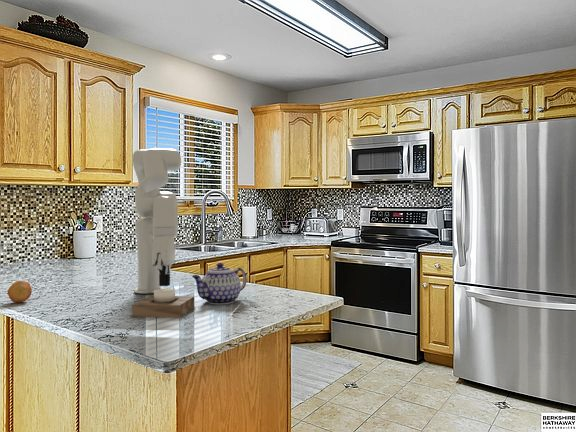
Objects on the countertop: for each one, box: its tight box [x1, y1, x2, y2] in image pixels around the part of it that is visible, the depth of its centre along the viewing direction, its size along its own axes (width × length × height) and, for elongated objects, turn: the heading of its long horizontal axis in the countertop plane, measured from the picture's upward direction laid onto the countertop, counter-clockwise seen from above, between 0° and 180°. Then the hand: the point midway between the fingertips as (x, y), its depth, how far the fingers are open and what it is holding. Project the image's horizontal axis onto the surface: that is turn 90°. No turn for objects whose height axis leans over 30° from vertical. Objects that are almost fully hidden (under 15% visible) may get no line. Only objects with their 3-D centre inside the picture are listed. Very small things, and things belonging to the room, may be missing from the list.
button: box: [153, 287, 176, 302], centre depth 158 cm, size 7×7×4 cm
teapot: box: [191, 262, 248, 305], centre depth 175 cm, size 25×15×15 cm, turn 132°
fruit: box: [7, 280, 33, 303], centre depth 176 cm, size 8×8×8 cm
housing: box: [131, 295, 195, 319], centre depth 158 cm, size 16×16×4 cm
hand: (164, 285), depth 158 cm, fingers closed
